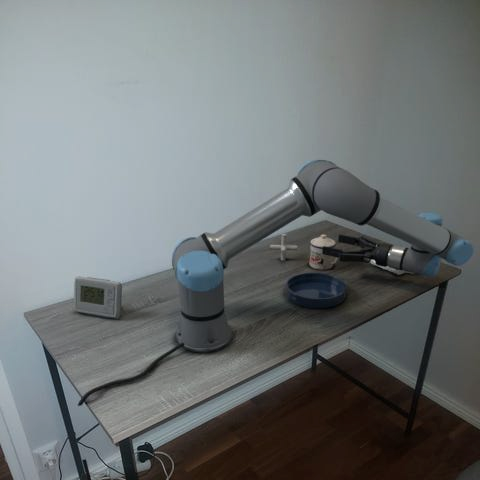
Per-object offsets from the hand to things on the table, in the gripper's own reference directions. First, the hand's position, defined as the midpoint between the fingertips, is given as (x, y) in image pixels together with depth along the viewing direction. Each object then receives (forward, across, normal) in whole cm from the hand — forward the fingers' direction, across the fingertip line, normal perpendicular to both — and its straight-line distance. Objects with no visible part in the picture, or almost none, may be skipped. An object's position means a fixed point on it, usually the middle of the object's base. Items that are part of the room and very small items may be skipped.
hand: (331, 243), depth 160 cm
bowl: (-5, -22, -9) cm, 24 cm away
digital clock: (+45, -68, -9) cm, 82 cm away
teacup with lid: (+2, 0, -9) cm, 9 cm away
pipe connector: (+18, -3, -9) cm, 20 cm away
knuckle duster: (-20, +14, -9) cm, 26 cm away
